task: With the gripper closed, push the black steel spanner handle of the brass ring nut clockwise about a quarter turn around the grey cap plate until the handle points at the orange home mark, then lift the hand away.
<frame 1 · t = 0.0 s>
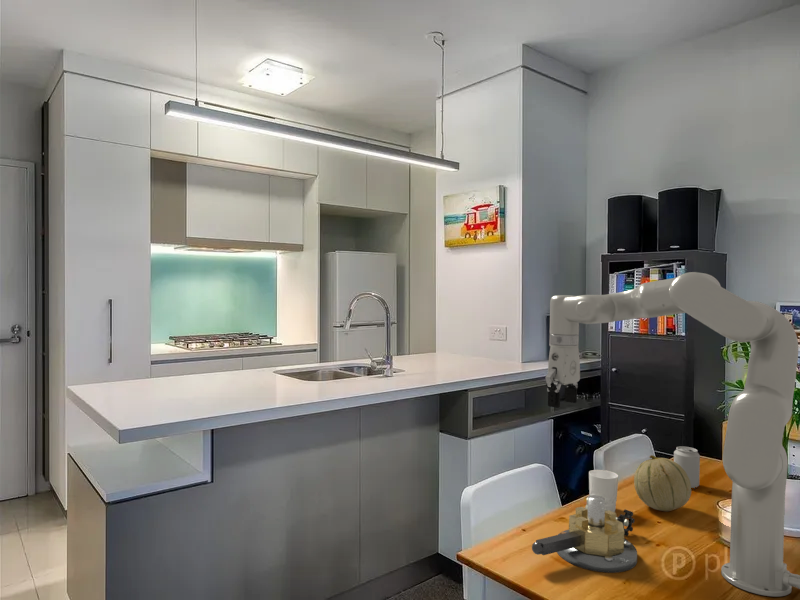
hand: (562, 404, 148), 31 cm above the table, tool pointing down, fingers open, 9 cm apart
can: (686, 486, 177), on the table
cantaloupe: (661, 509, 157), on the table
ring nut: (575, 534, 126), point 6 cm above the table, hinge at 0.0°, touching cap plate
cap plate: (595, 553, 129), on the table
white cup: (602, 509, 157), on the table
valve: (606, 529, 144), on the table
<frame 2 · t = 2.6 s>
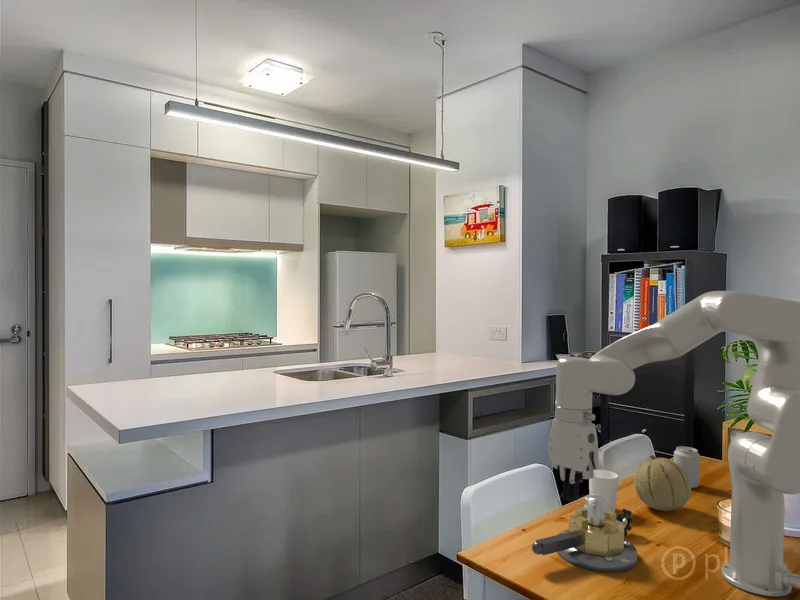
hand: (570, 499, 119), 16 cm above the table, tool pointing down, fingers closed
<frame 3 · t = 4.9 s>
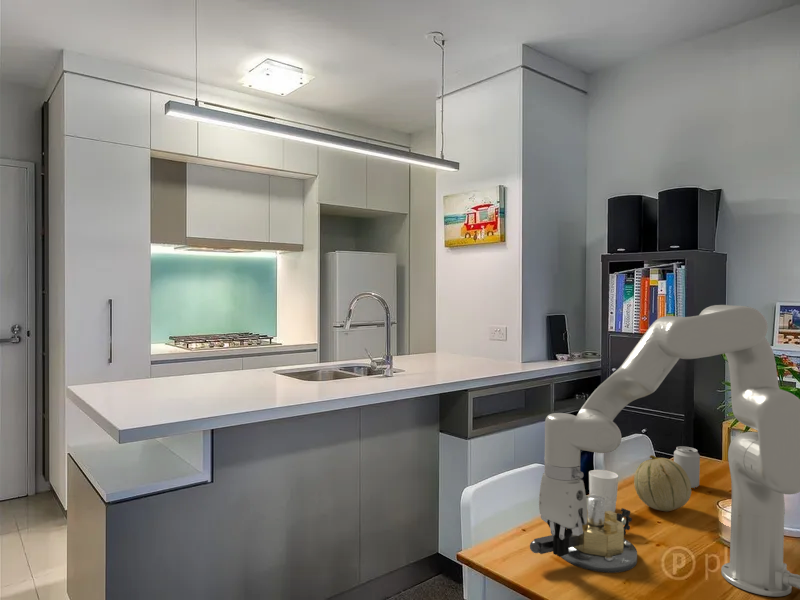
hand: (560, 553, 121), 4 cm above the table, tool pointing down, fingers closed
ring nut: (574, 534, 126), point 6 cm above the table, hinge at 2.2°, touching cap plate, gripper
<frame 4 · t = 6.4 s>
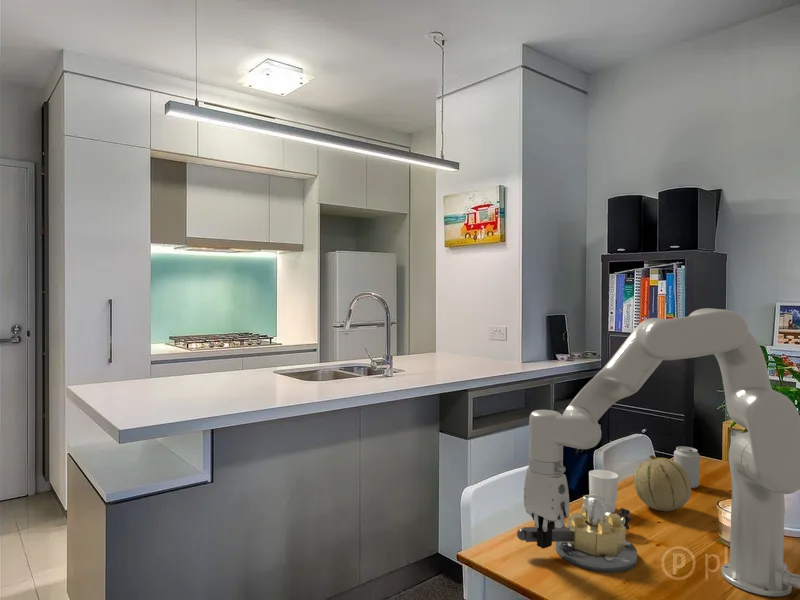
hand: (544, 545, 125), 3 cm above the table, tool pointing down, fingers closed
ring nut: (569, 529, 129), point 6 cm above the table, hinge at 23.2°, touching gripper
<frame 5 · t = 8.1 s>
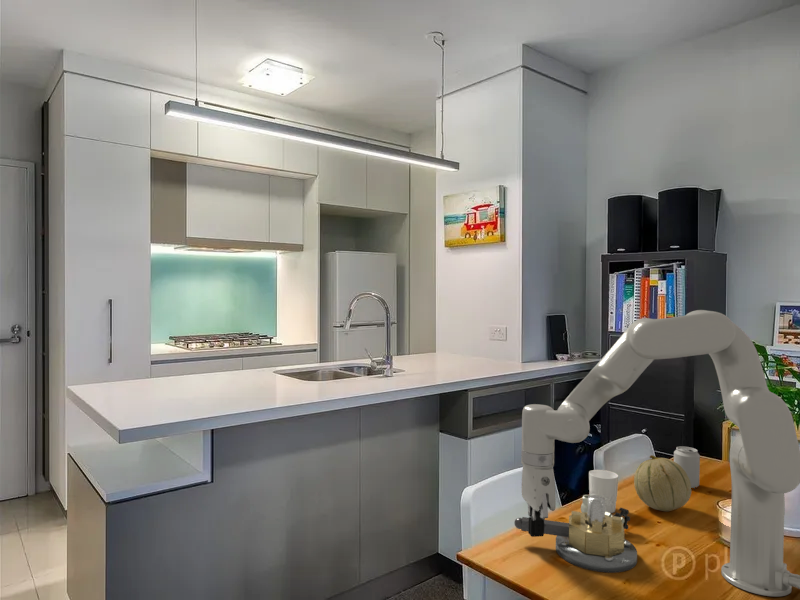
hand: (536, 534, 130), 4 cm above the table, tool pointing down, fingers closed
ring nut: (567, 525, 131), point 6 cm above the table, hinge at 44.0°, touching cap plate, gripper
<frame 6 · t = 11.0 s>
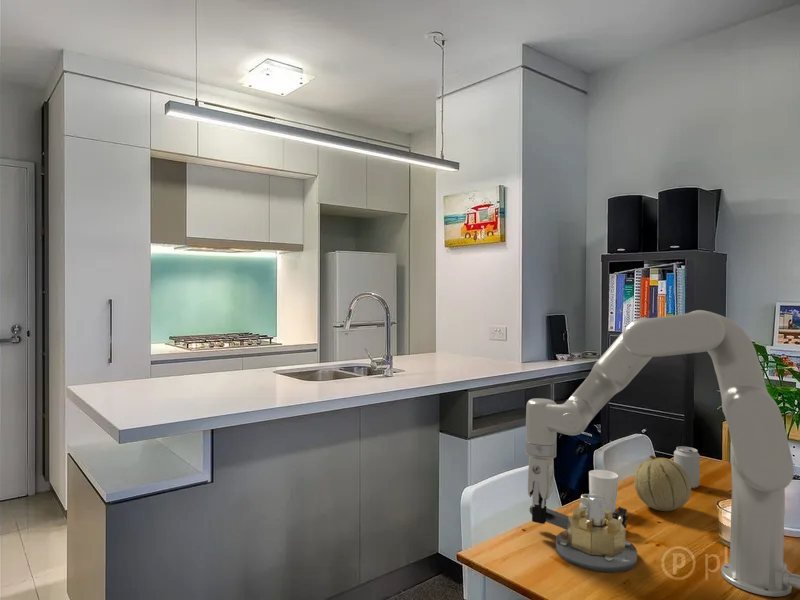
hand: (539, 521, 138), 4 cm above the table, tool pointing down, fingers closed
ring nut: (572, 520, 134), point 6 cm above the table, hinge at 77.7°, touching gripper
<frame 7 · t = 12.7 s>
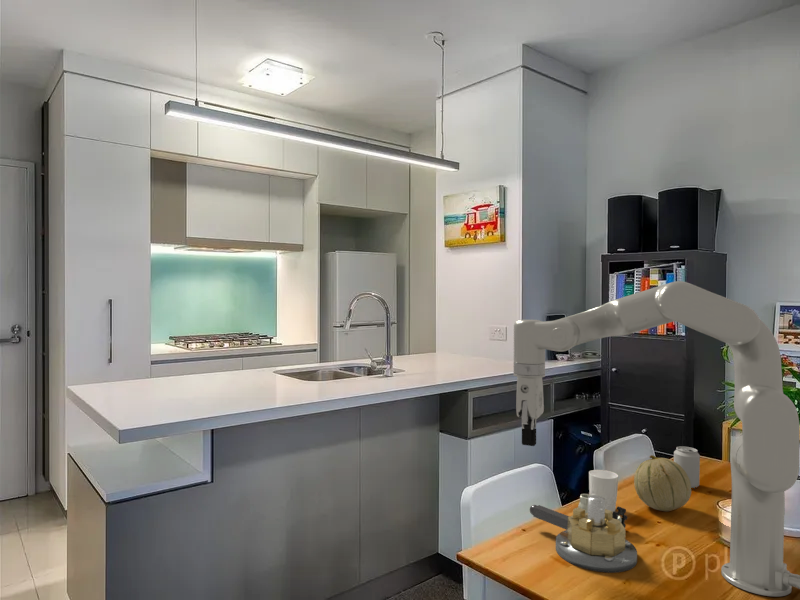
hand: (528, 444, 135), 24 cm above the table, tool pointing down, fingers closed
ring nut: (572, 520, 134), point 6 cm above the table, hinge at 77.9°
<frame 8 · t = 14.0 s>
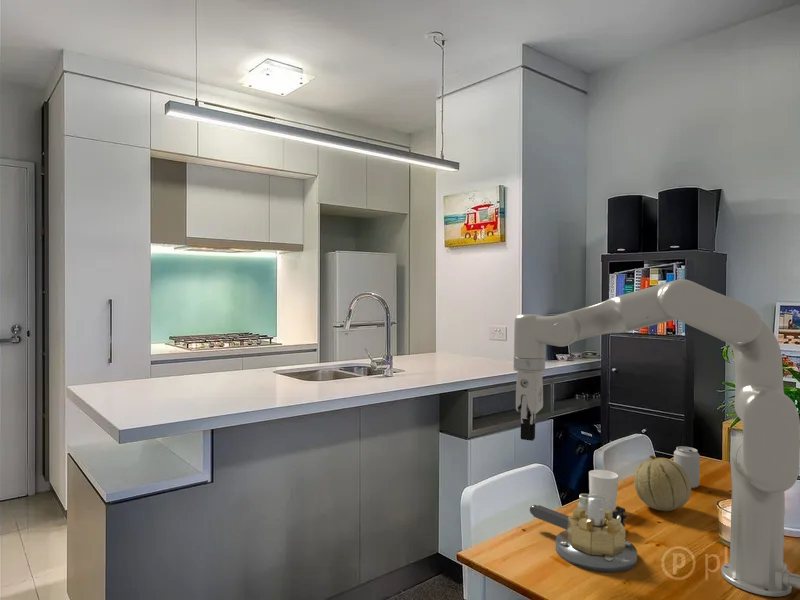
hand: (527, 439, 135), 25 cm above the table, tool pointing down, fingers closed
at the end: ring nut at +78° (first picture: +0°); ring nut touching nothing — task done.
